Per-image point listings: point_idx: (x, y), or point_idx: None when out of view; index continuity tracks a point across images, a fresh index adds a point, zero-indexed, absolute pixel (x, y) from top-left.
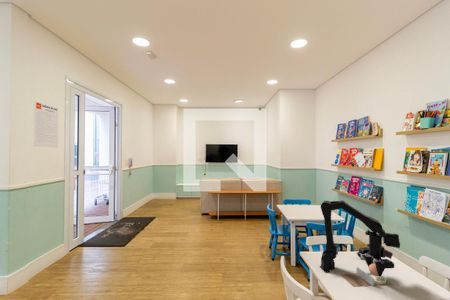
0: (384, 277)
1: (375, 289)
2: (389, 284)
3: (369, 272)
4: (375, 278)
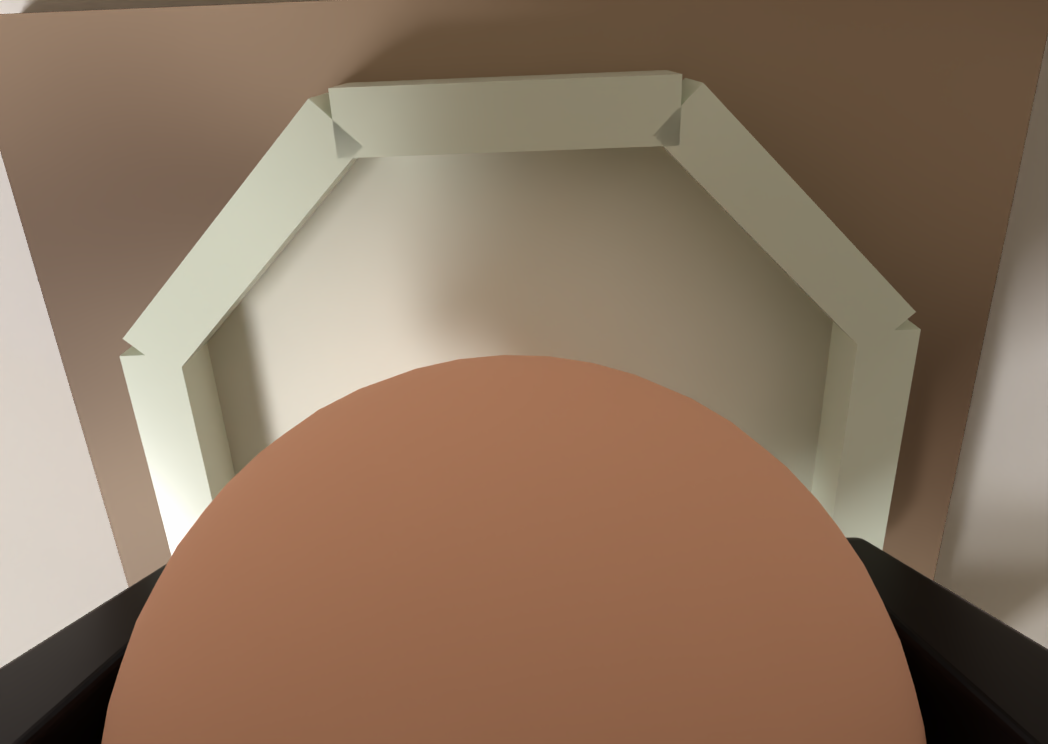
0: (581, 90)
1: None
2: (965, 172)
3: (154, 475)
4: None
